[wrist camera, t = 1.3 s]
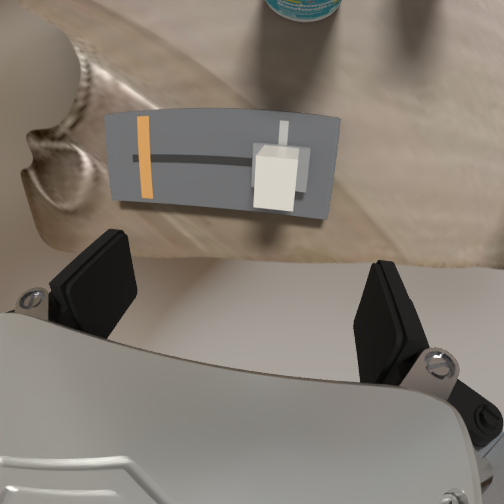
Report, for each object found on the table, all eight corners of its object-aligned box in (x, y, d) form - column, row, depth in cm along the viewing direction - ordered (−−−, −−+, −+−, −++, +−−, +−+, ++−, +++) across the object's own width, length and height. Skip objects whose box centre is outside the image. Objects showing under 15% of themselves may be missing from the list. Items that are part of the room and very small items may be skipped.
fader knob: (310, 147, 25) (312, 161, 20) (305, 189, 27) (306, 213, 22) (254, 142, 26) (242, 154, 21) (252, 183, 28) (240, 205, 23)
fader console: (338, 117, 25) (340, 119, 24) (326, 212, 30) (327, 220, 29) (114, 113, 28) (104, 115, 26) (120, 194, 33) (111, 200, 32)
